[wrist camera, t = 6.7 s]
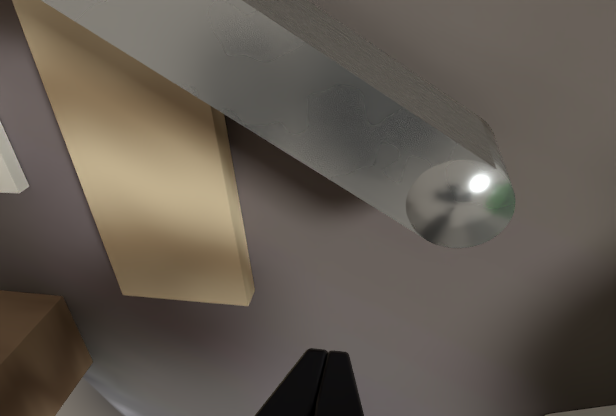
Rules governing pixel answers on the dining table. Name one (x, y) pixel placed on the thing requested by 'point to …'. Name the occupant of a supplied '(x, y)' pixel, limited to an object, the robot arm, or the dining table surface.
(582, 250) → the dining table surface
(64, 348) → the cap block
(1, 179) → the trivet
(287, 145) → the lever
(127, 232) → the plane block
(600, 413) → the security camera
